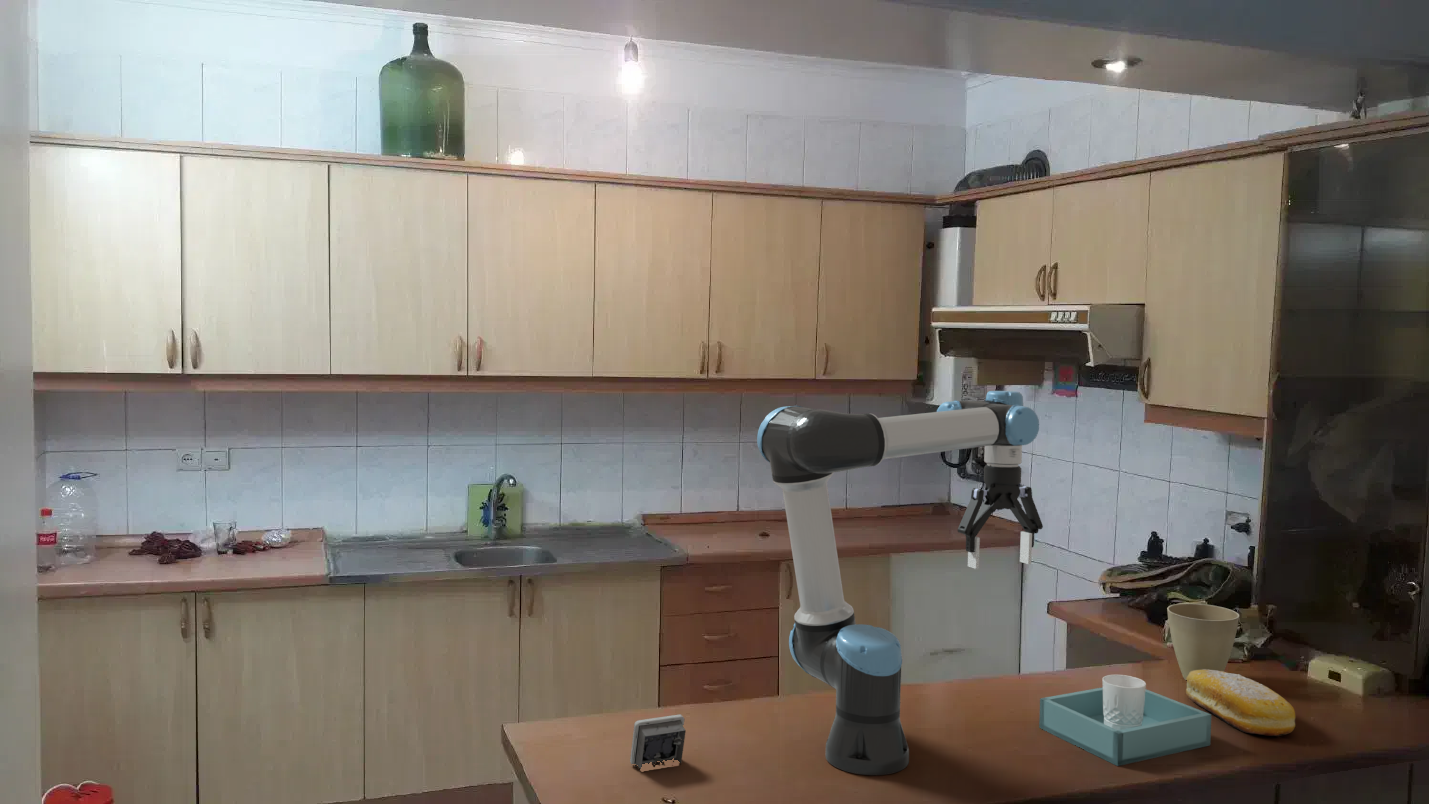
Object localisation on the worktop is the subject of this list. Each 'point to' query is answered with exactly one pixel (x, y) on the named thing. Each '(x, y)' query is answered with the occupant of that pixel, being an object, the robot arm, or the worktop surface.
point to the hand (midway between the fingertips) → (999, 565)
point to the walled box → (1158, 736)
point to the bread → (1241, 702)
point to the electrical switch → (658, 740)
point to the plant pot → (1202, 636)
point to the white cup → (1123, 701)
